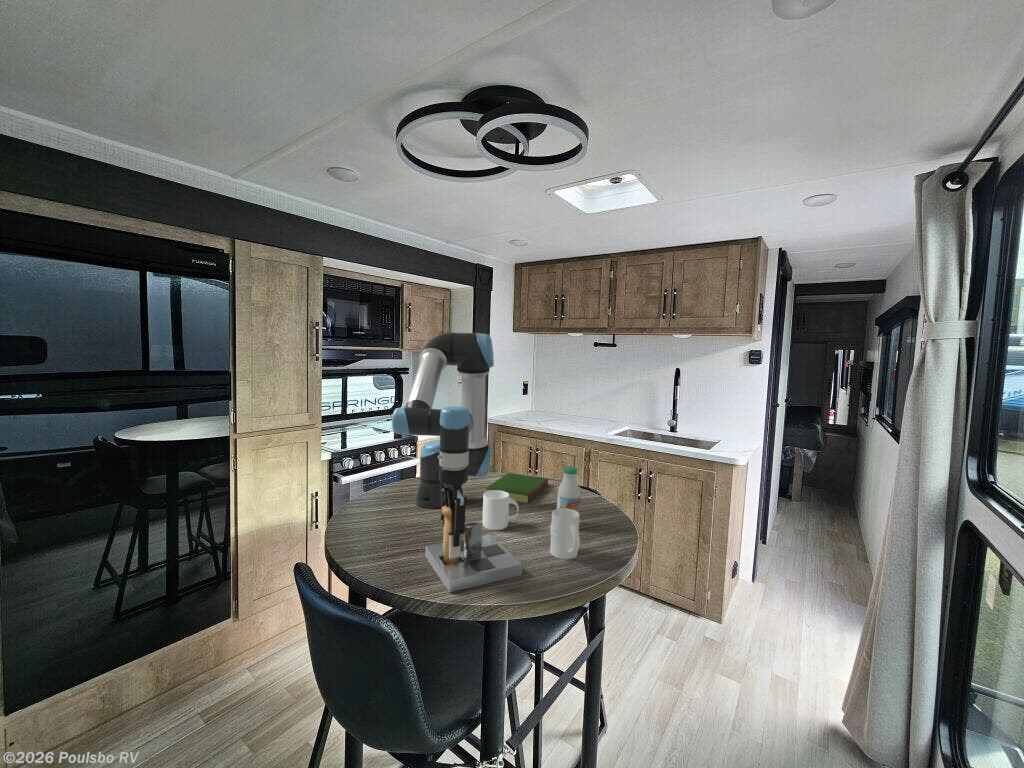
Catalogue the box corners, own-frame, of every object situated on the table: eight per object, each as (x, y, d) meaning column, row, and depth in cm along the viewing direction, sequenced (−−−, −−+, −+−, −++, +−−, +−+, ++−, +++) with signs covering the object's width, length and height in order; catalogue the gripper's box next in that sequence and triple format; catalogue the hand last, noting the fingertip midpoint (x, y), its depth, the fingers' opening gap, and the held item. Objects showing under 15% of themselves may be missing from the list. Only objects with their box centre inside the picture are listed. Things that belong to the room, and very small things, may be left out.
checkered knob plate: (425, 556, 122) (426, 518, 121) (489, 543, 132) (491, 508, 131) (449, 592, 105) (450, 548, 104) (521, 574, 114) (523, 534, 113)
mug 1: (519, 530, 142) (521, 498, 141) (483, 531, 141) (484, 498, 140) (516, 520, 151) (517, 490, 150) (481, 520, 149) (482, 490, 148)
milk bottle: (551, 525, 147) (554, 467, 146) (565, 519, 153) (567, 463, 151) (570, 532, 142) (573, 472, 140) (583, 525, 148) (586, 468, 146)
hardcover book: (528, 504, 168) (529, 495, 167) (485, 497, 174) (485, 488, 174) (548, 486, 191) (548, 478, 190) (508, 480, 198) (509, 472, 197)
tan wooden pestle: (437, 561, 116) (438, 506, 115) (457, 557, 119) (458, 503, 118) (444, 571, 112) (446, 513, 110) (465, 566, 114) (466, 510, 113)
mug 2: (563, 568, 119) (565, 525, 118) (545, 548, 130) (546, 509, 129) (589, 563, 121) (591, 522, 120) (569, 545, 133) (571, 507, 132)
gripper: (429, 459, 119) (428, 542, 121) (451, 477, 104) (448, 571, 106) (455, 457, 122) (453, 537, 124) (480, 473, 107) (477, 565, 109)
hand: (451, 553), depth 115 cm, fingers closed on tan wooden pestle, 4 cm apart
